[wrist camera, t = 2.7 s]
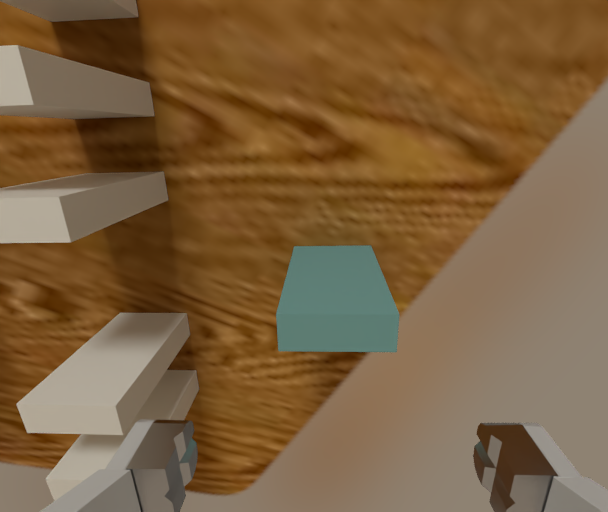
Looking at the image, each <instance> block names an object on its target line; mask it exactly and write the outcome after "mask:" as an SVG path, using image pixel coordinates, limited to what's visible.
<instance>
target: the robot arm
mask: <svg viewBox="0 0 608 512" xmlns="http://www.w3.org/2000/svg"><path fill="white" fill-rule="evenodd" d="M193 433H194V427H193V422H192V421H186V420H159V419H157V420H148V419H140V420H138V421H137V422H136V423H135V424H134V425H133V427H132V429H131V430H130V432H129V433H128V435H127V436H126V438H125V439H124V441H123V442H122V444H121V445H120V447H119V448H118V450H117V452H116V453H115V455H114V456H113V458H112V459H111V461H110V462H109V464H108V465H107V467H106V468H105V469H99V470H98V471H97V472H95V473H94V474H92V475H91V476H89V477H88V478H87V479H85V480H84V481H82V482H81V483H80V484H78V485H77V486H75V487H74V488H72V489H71V490H70V491H68V492H67V493H65V494H64V495H63V496H61V497H60V498H58V499H57V500H55V501H54V502H53V503H51V504H50V505H48V506H47V507H46V508H44V509H43V510H41V511H40V512H180V509H181V507H182V504H183V502H184V499H185V496H186V495H185V489H184V486H185V485H187V484H188V483H189V482H190V481H191V480H192V477H193V475H194V472H195V468H196V463H197V444H196V442H195V441H194V440H193V439H192V435H193ZM477 435H478V437H479V439H480V442H479V443H478V444H476V445H475V447H474V455H473V457H474V465H475V469H476V473H477V475H478V478H479V480H480V482H481V484H482V486H484V487H485V488H486V489H487V490H488V491H489V492H491V497H490V504H491V506H492V508H493V510H494V512H608V490H607V489H606V488H604V487H603V486H601V485H600V484H598V483H597V482H595V481H593V480H592V479H590V478H589V477H582V476H581V475H580V474H579V472H578V471H577V470H576V468H575V467H574V466H573V465H572V463H571V462H570V461H569V460H568V458H567V457H566V456H565V454H564V453H563V452H562V451H561V449H560V448H559V447H558V446H557V444H556V443H555V442H554V441H553V439H552V438H551V437H550V435H549V434H548V433H547V432H546V430H545V429H544V428H543V427H542V426H541V425H540V424H538V423H480V425H479V426H478V429H477Z"/></svg>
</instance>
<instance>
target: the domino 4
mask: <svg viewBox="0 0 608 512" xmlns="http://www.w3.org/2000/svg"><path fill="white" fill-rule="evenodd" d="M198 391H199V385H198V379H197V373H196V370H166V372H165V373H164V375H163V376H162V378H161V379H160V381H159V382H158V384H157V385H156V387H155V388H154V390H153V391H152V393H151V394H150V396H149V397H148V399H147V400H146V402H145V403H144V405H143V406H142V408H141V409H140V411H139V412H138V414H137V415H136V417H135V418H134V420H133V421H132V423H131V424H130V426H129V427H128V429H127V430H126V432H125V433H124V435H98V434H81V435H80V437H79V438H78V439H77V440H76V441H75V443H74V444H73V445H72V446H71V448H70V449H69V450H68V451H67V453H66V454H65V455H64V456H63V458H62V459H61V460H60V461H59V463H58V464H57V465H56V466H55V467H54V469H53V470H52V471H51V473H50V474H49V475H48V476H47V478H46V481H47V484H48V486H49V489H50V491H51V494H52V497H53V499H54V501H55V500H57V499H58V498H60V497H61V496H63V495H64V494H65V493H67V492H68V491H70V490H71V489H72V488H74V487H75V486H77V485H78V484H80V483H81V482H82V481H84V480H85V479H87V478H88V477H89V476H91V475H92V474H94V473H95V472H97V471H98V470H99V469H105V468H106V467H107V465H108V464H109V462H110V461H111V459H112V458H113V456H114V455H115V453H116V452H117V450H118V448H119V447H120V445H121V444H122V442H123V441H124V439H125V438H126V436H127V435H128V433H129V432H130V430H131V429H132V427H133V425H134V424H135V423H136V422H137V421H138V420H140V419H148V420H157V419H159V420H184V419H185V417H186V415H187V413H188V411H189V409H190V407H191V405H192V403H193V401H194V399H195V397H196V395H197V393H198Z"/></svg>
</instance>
